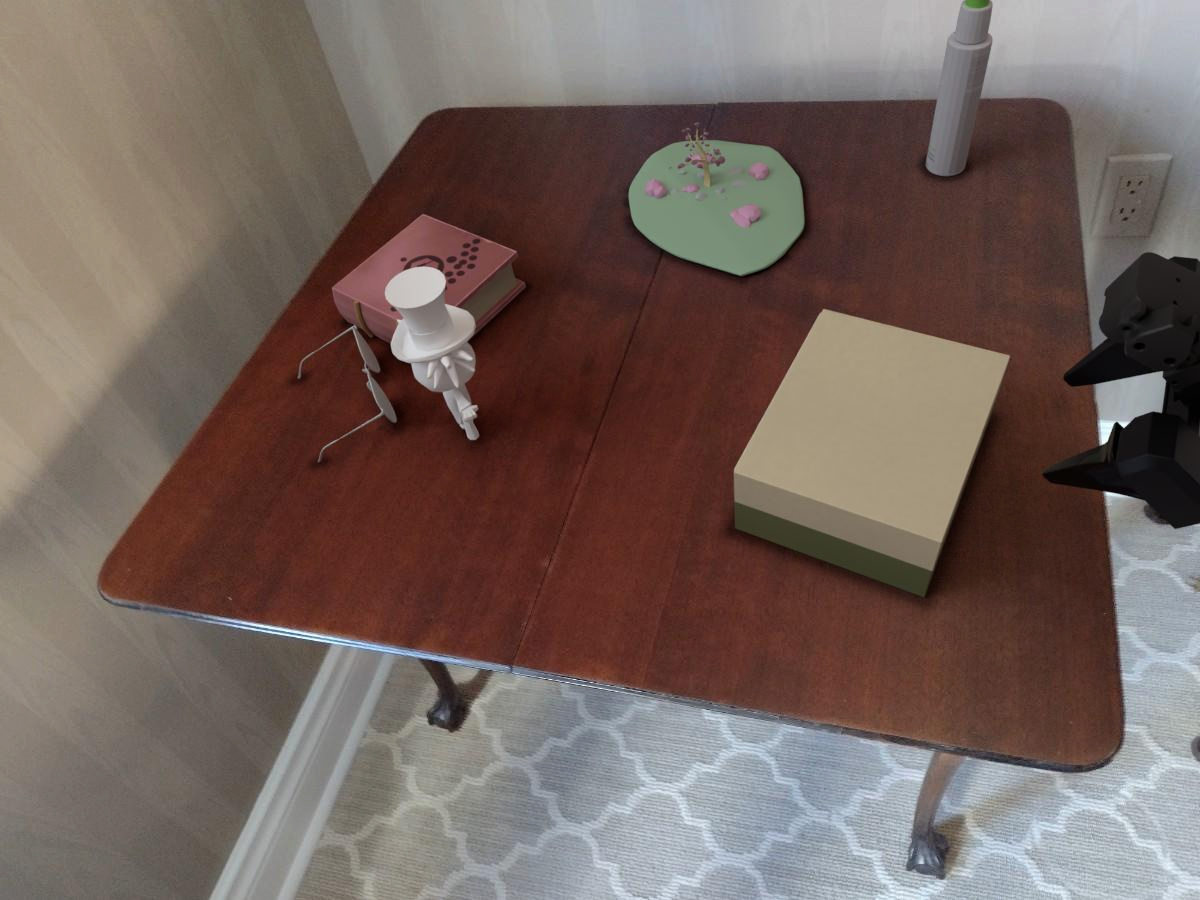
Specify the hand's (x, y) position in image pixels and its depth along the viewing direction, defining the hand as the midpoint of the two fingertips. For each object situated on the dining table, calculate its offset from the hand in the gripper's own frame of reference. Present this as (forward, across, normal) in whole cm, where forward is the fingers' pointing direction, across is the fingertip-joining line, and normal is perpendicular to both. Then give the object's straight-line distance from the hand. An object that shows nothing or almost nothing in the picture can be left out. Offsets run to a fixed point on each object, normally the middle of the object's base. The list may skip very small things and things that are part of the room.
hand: (1056, 427), depth 62 cm
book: (+51, -9, -38) cm, 64 cm away
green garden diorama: (+35, -34, -20) cm, 53 cm away
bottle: (+20, -48, -3) cm, 52 cm away
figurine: (+42, +5, -29) cm, 51 cm away
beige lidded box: (+18, -2, -1) cm, 18 cm away
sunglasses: (+51, +7, -39) cm, 65 cm away
